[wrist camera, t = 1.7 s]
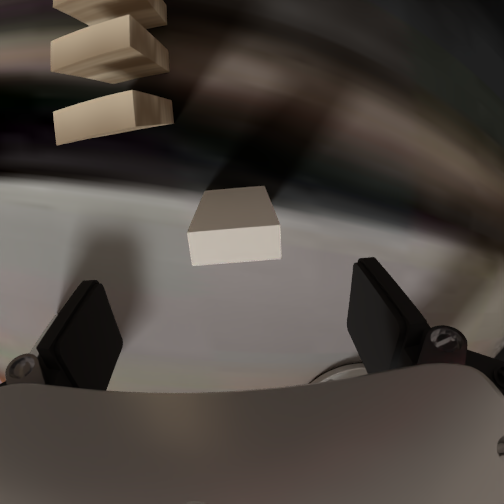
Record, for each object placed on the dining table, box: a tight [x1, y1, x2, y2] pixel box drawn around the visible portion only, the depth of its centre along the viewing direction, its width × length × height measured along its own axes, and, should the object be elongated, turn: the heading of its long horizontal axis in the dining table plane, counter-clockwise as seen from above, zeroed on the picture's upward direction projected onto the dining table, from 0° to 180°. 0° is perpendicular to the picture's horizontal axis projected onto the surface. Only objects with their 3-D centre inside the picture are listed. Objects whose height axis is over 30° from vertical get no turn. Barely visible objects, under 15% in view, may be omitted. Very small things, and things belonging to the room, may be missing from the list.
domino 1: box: [53, 0, 167, 29], centre depth 14 cm, size 2×5×10 cm, turn 94°
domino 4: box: [187, 186, 281, 266], centre depth 21 cm, size 2×5×10 cm, turn 94°
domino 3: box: [53, 90, 174, 145], centre depth 18 cm, size 2×5×10 cm, turn 94°
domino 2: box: [51, 15, 170, 84], centre depth 16 cm, size 2×5×10 cm, turn 94°
